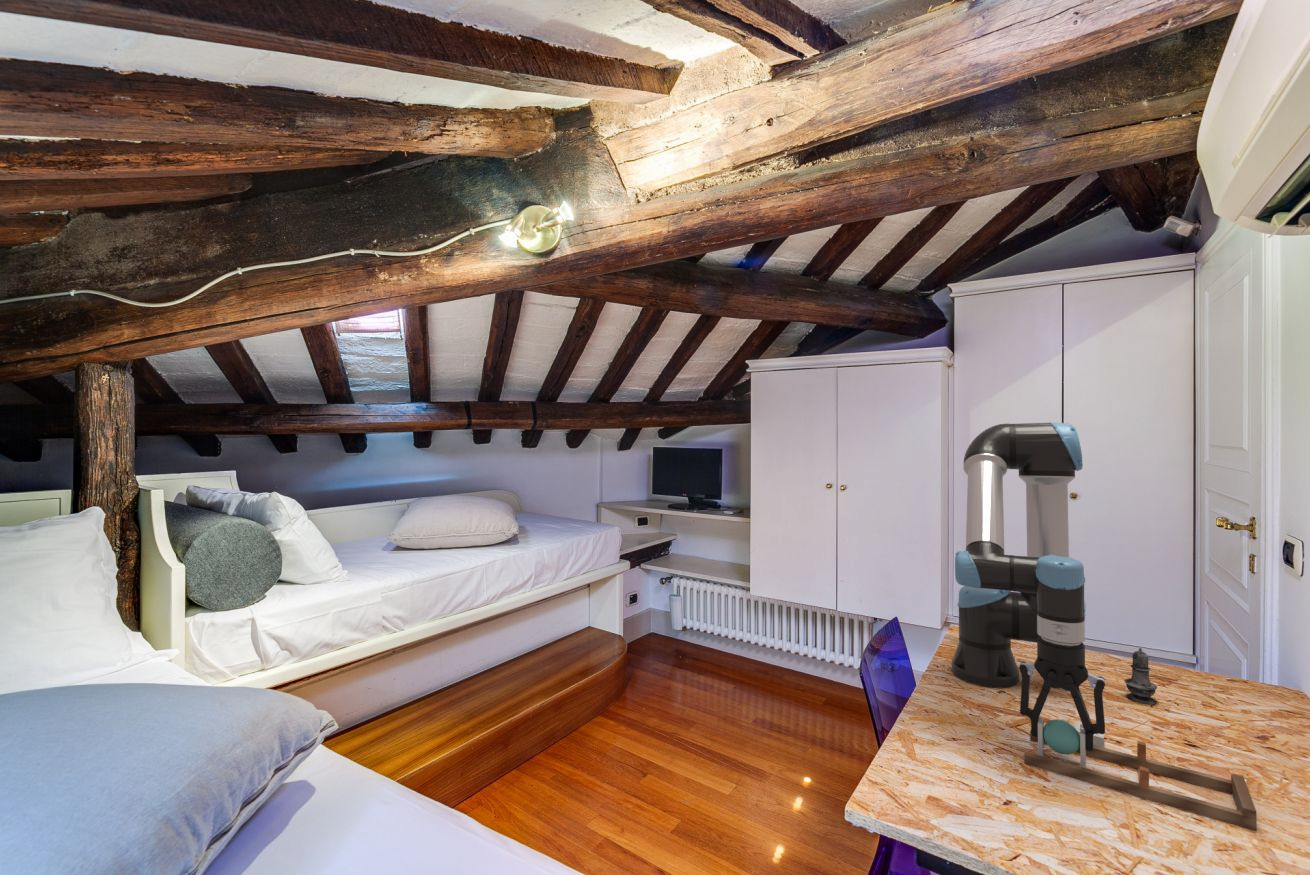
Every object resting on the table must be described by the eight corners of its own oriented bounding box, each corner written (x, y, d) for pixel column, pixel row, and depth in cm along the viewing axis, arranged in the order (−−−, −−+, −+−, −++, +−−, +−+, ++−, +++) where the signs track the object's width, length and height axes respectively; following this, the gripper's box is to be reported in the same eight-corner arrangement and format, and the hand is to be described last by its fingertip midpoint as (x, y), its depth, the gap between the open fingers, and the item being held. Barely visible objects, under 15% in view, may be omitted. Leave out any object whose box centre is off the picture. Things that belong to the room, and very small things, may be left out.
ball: (1041, 754, 111) (1041, 722, 111) (1044, 740, 116) (1043, 710, 116) (1080, 764, 107) (1080, 732, 107) (1081, 750, 112) (1081, 719, 112)
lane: (1024, 763, 111) (1024, 738, 111) (1030, 737, 120) (1030, 714, 120) (1256, 830, 92) (1256, 800, 92) (1243, 793, 101) (1243, 766, 101)
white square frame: (1074, 740, 118) (1074, 730, 118) (1075, 730, 122) (1075, 721, 122) (1104, 748, 115) (1103, 738, 115) (1104, 737, 119) (1104, 727, 119)
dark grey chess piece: (1164, 704, 132) (1164, 652, 132) (1138, 705, 132) (1137, 652, 132) (1143, 693, 138) (1142, 642, 138) (1118, 693, 138) (1117, 643, 138)
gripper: (1000, 634, 114) (1001, 752, 114) (1124, 656, 103) (1125, 786, 103) (1005, 624, 120) (1007, 735, 120) (1123, 643, 109) (1124, 767, 109)
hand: (1061, 759), depth 112 cm, fingers closed on ball, 6 cm apart
